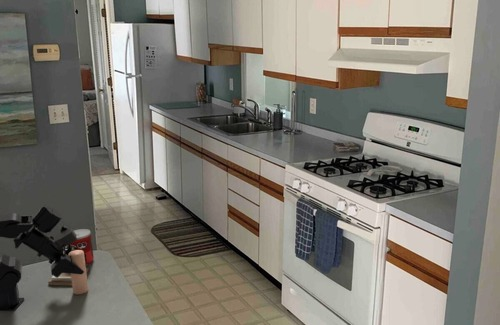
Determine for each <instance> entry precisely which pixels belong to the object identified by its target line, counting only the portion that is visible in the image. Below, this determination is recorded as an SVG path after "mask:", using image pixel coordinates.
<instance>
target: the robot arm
mask: <svg viewBox="0 0 500 325" xmlns="http://www.w3.org/2000/svg"><path fill="white" fill-rule="evenodd" d="M63 217H64V216H63V215H62V213H61V212H59V211H58V210H57V209H56V208H55V207H51V206H46V204H42V205H41V206H40V208H39V210H38V211H37V212H36V213H35V214H34V215H33V214H31V215H27V214H26V215H25V214H24V215H23V214H22V215H20V214H19V213H15V212H12V213H4V214H0V238H5V239H13V242H14V248H15V249H19V247H20V246H21V245H24V246H25V247H28V248H29V249H31V250H32V251H33V252H35V253H36V256H37V257H39V258H41V256H42V257H43V258H45V259H47V260H48V263H49V264H51V265H50V271H51V272H50V273H51V275H52V276H55V277H56V278H58V277H59V276H60V275H61V273H71V274H83V273H84V271H83V270H82V269H81V268H80V267H79V266H78V265H77V264H75V263H74V262H73V261H72V255H70V257H69V256H68V254H69V253H70V252H71V251H72V250H71V244H70V243H73V242H75V241H76V240H77V237H76V236H77V235H76V234H75V232H74V228H72V227H71V226H69V227H68V226H67V225H62V226H60V230H59V231H60V232H59V233H58V234H57V235H56V236H55V235H53V234H49V235H48V234H47V233H51V232H52V231H53V230H54V228H55V227H56V226H57V225H58V224H59V222H60V221H61V220H62V219H63ZM22 272H23V265H22V263H21V261H20V260H18V259H17V257H15V256H9V255H6V254H4V253H2V254H1V257H0V311H15V310H16V309H17V308H18V307H19V306H20V305H21V304H22V303H23V302H24V301H25V298H24V297H20V293H19V286H18V283H19V282H20V281H21V280H22V274H23V273H22Z"/></svg>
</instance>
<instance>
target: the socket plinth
mask: <svg viewBox="0 0 500 325" xmlns="http://www.w3.org/2000/svg"><path fill="white" fill-rule="evenodd" d="M88 272H89V268H87V267H86V274H88ZM47 283H48V286H72V279H71V273H61V275H60V276H59V277H58V278H56V277H55V276H53V275H52V276H51V278H50V279H49V280H48V282H47Z"/></svg>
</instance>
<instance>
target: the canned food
mask: <svg viewBox="0 0 500 325" xmlns="http://www.w3.org/2000/svg"><path fill="white" fill-rule="evenodd" d="M73 231H74V232H75V234H76V235H77V236H76V237H77V240H76V241H75V242H73V243H70V244H71V250H72V251H75V250H82V251H84V258H85V266H87V265H90V264H91V263H92V262H93V261H94V259H95V258H94V250H93V249H94V247H93V241H92V234H91V233H92V232H91V230H90V229H87V228H80V229H75V230H74V229H73Z"/></svg>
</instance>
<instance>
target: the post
mask: <svg viewBox="0 0 500 325" xmlns="http://www.w3.org/2000/svg"><path fill="white" fill-rule="evenodd" d="M70 255H72V261H73V262H74V263H75V264H77V265H78V266H79V267H80V268H81V269H82V270H83V271H84V273H83V274H71V279H72V285H71V286H72V293H73V295H74V294H75V295H83V294H86V293H88V291H89V284H88V278H87V277H88V276H87V274H88V273H86V268H87V267H86V266H87V265H85V258H84V251H82V250H75V251H71V252H70V253H69V254H68V256H69V257H70Z"/></svg>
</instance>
